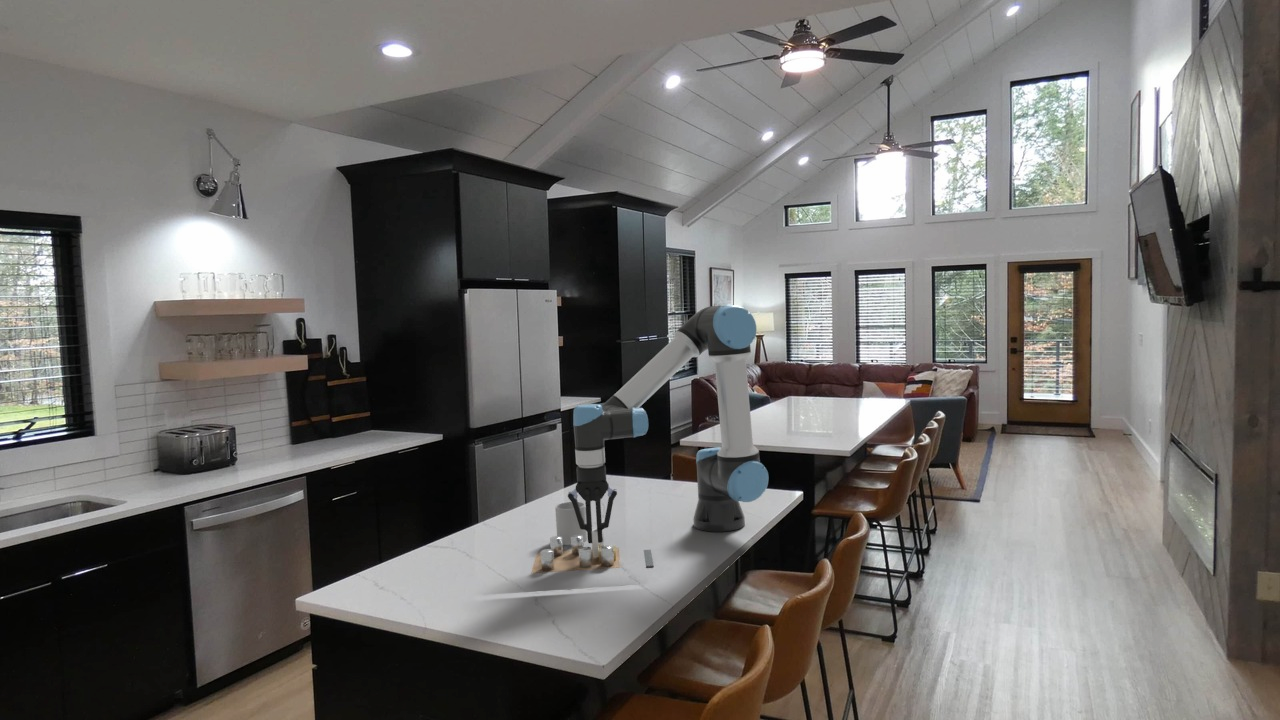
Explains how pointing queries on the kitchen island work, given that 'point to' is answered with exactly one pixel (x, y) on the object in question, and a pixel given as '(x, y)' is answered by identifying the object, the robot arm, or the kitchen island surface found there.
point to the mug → (569, 522)
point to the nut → (613, 553)
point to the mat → (648, 558)
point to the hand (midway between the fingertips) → (596, 554)
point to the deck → (571, 563)
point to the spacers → (576, 553)
